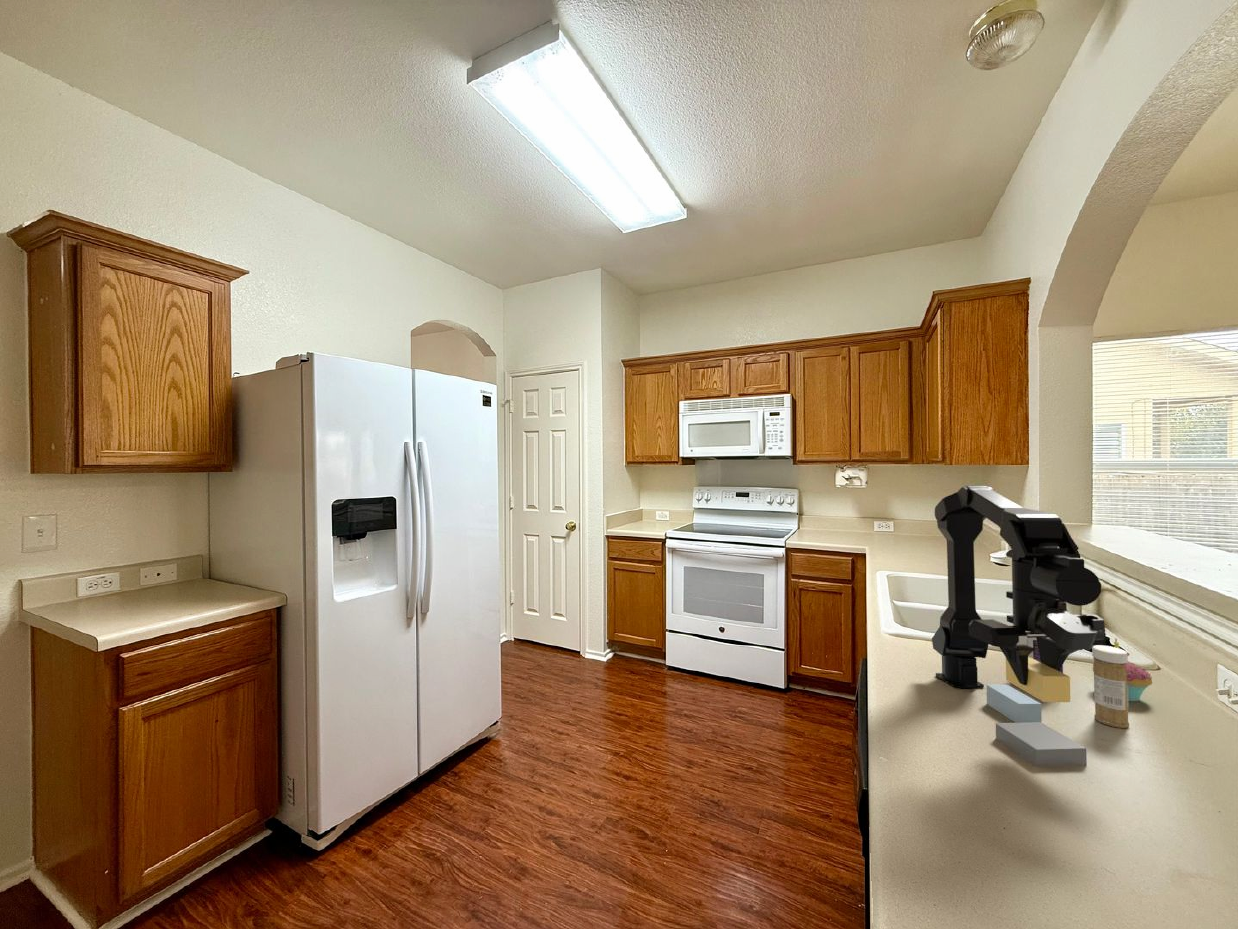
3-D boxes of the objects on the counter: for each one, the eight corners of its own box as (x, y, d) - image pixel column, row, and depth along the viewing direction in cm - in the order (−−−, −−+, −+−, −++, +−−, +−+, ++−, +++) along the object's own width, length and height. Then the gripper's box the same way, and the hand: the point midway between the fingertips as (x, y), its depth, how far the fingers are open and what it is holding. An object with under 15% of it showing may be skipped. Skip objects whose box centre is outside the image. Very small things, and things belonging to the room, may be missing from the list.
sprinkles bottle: (1132, 724, 88) (1130, 649, 89) (1125, 732, 86) (1123, 655, 86) (1097, 714, 92) (1096, 642, 92) (1090, 721, 90) (1088, 647, 90)
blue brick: (986, 705, 97) (986, 684, 97) (1007, 705, 96) (1006, 684, 97) (1019, 726, 89) (1018, 703, 89) (1041, 726, 89) (1041, 703, 89)
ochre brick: (1006, 680, 85) (1005, 657, 85) (1030, 680, 84) (1029, 657, 84) (1043, 701, 77) (1043, 676, 77) (1070, 702, 76) (1069, 676, 76)
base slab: (996, 740, 84) (995, 723, 84) (1040, 739, 84) (1040, 722, 85) (1037, 769, 76) (1036, 749, 76) (1086, 767, 76) (1086, 748, 77)
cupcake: (1142, 709, 94) (1141, 647, 94) (1084, 692, 101) (1083, 634, 101) (1159, 699, 98) (1157, 639, 98) (1102, 683, 105) (1101, 627, 105)
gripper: (1020, 603, 72) (1023, 709, 72) (1142, 601, 73) (1144, 706, 73) (965, 585, 84) (967, 677, 83) (1071, 584, 84) (1073, 675, 84)
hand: (1036, 684), depth 81 cm, fingers closed on ochre brick, 4 cm apart
